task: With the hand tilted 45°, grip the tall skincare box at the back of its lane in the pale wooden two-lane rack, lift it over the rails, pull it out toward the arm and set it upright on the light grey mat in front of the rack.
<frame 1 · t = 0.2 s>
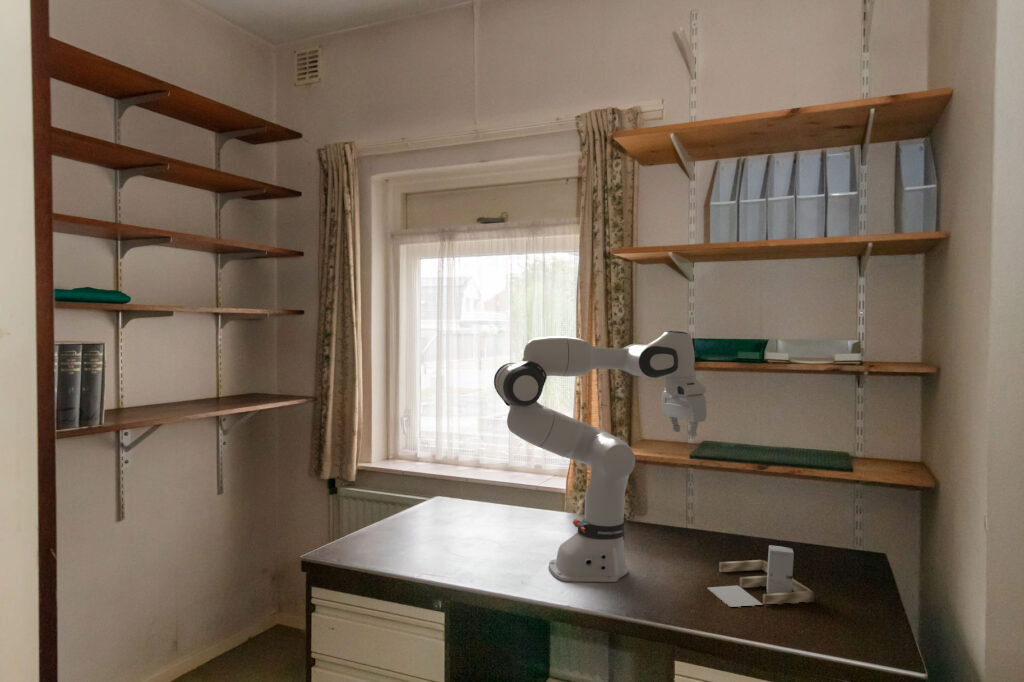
hand: (684, 433, 193), 39 cm above the table, tool pointing down, fingers open, 8 cm apart
lane rack: (764, 586, 181), on the table
grey mat: (734, 596, 174), on the table
skincare box: (779, 594, 176), resting in lane rack
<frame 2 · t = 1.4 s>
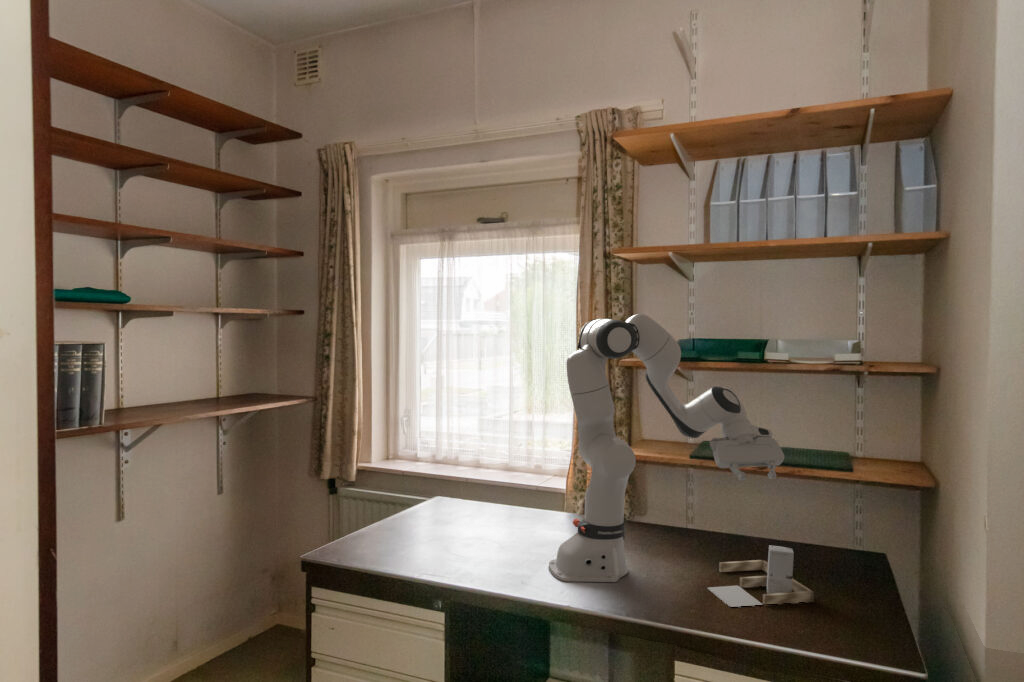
hand: (758, 478, 187), 28 cm above the table, tool tilted 45°, fingers open, 8 cm apart
nothing on the table moved.
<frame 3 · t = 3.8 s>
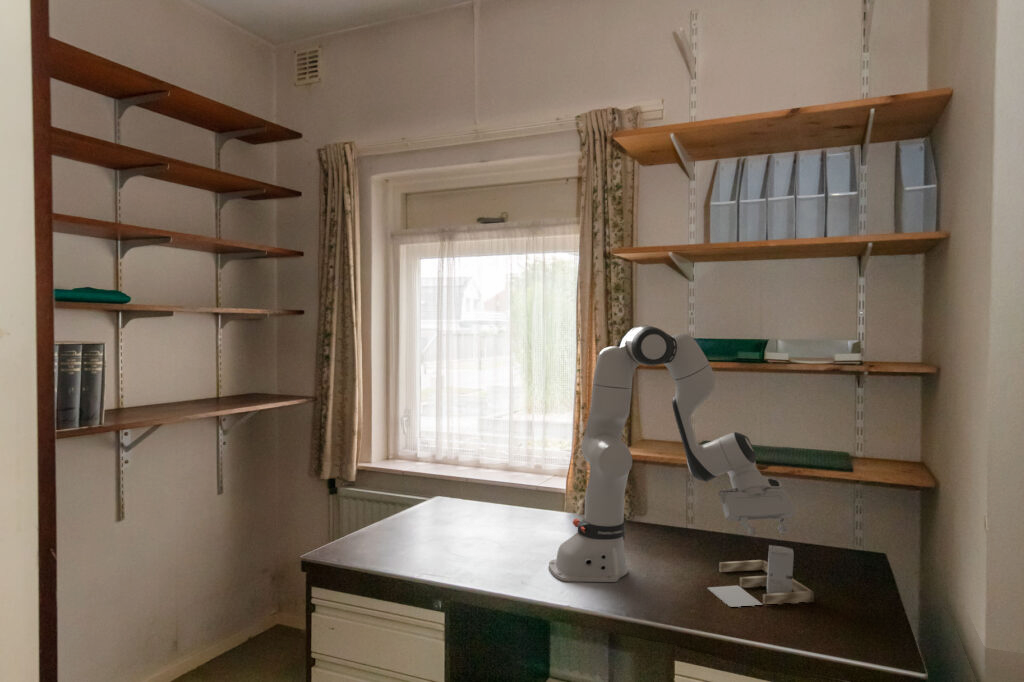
hand: (768, 532, 182), 14 cm above the table, tool tilted 45°, fingers open, 8 cm apart
nothing on the table moved.
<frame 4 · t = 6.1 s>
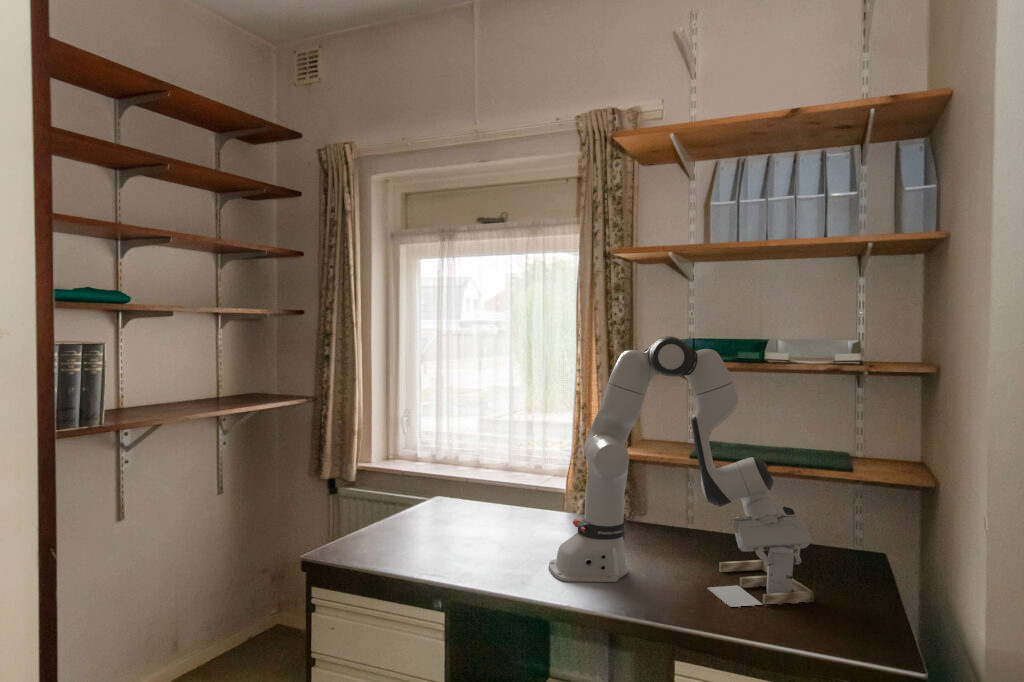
hand: (783, 564, 175), 8 cm above the table, tool tilted 45°, fingers closed on skincare box, 7 cm apart
skincare box: (779, 594, 176), resting in lane rack, touching gripper
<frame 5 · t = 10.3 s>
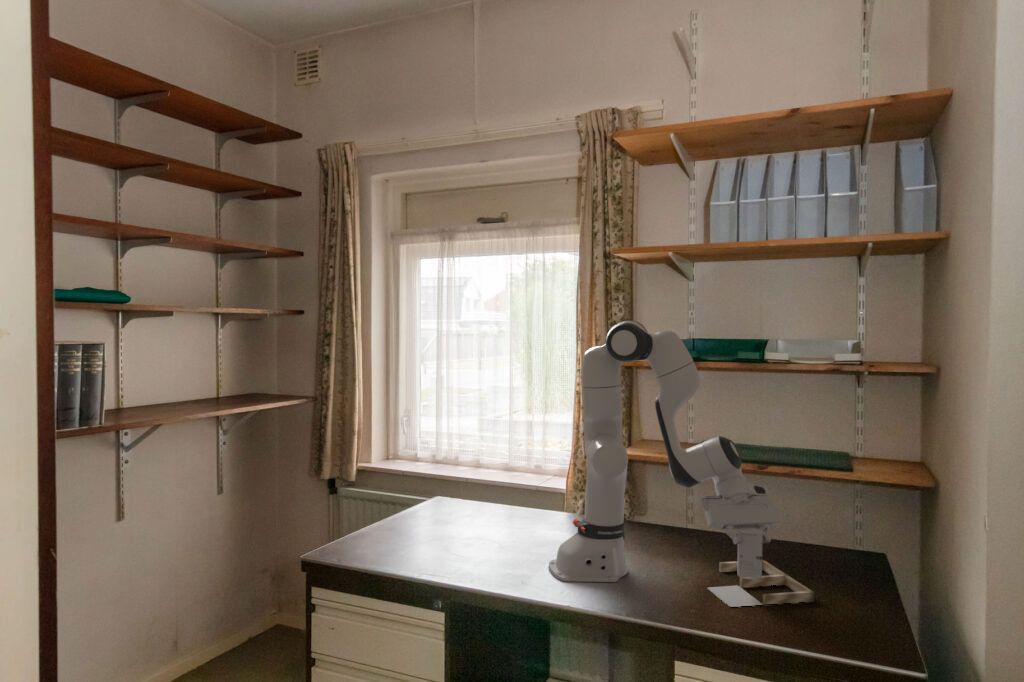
hand: (752, 542, 173), 15 cm above the table, tool tilted 45°, fingers closed on skincare box, 7 cm apart
skincare box: (749, 575, 175), point 5 cm above the table, touching gripper
when the fingers open (10 cm above the table, at t = 13.6 s): skincare box stays where it is, resting on grey mat.
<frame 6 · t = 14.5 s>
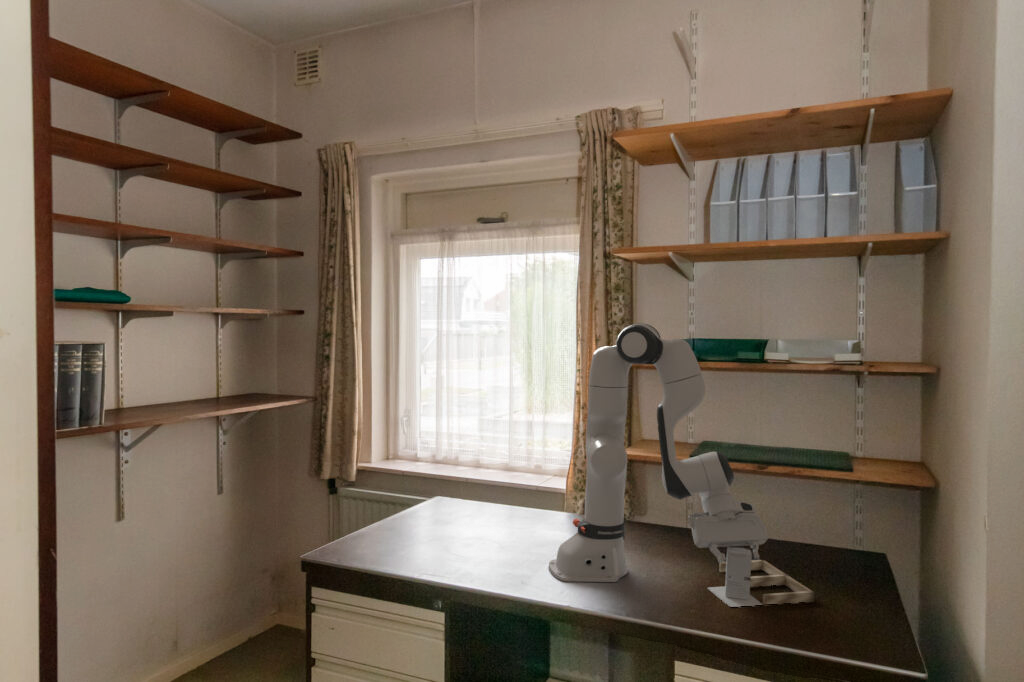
hand: (739, 560, 172), 10 cm above the table, tool tilted 45°, fingers open, 8 cm apart
skincare box: (737, 596, 174), resting on grey mat, touching gripper
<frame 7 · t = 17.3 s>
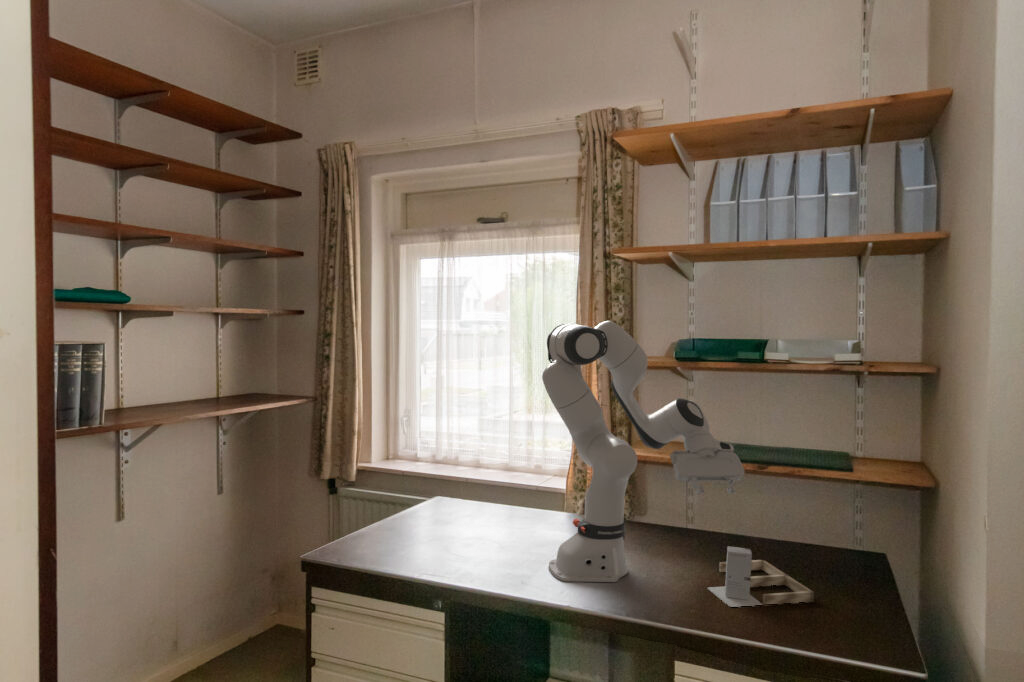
hand: (716, 492, 186), 24 cm above the table, tool tilted 45°, fingers open, 8 cm apart
skincare box: (737, 596, 174), resting on grey mat
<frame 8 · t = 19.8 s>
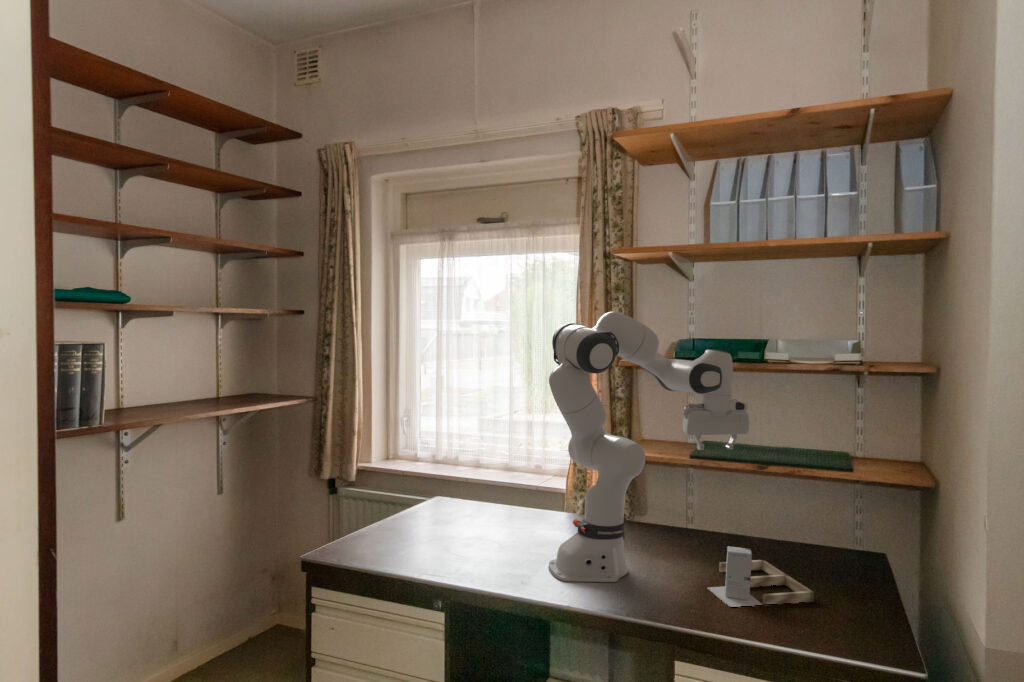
hand: (715, 449, 200), 33 cm above the table, tool pointing down, fingers open, 8 cm apart
nothing on the table moved.
at the end: skincare box inside the target area (0.4 cm from its centre), resting on grey mat; skincare box tilted 0°; the gripper is holding nothing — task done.
